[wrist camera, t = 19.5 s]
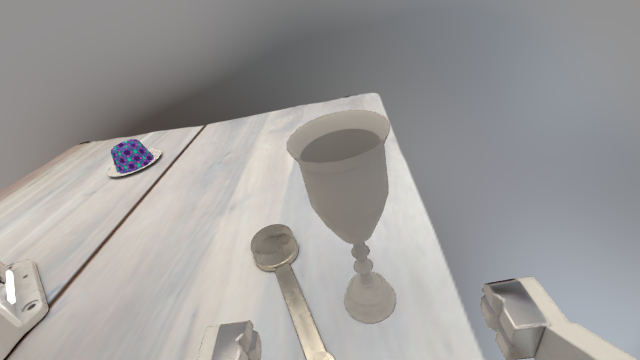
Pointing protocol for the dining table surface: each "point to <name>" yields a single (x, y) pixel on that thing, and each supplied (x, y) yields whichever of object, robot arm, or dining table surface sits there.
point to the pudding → (131, 158)
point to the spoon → (289, 284)
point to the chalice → (349, 194)
